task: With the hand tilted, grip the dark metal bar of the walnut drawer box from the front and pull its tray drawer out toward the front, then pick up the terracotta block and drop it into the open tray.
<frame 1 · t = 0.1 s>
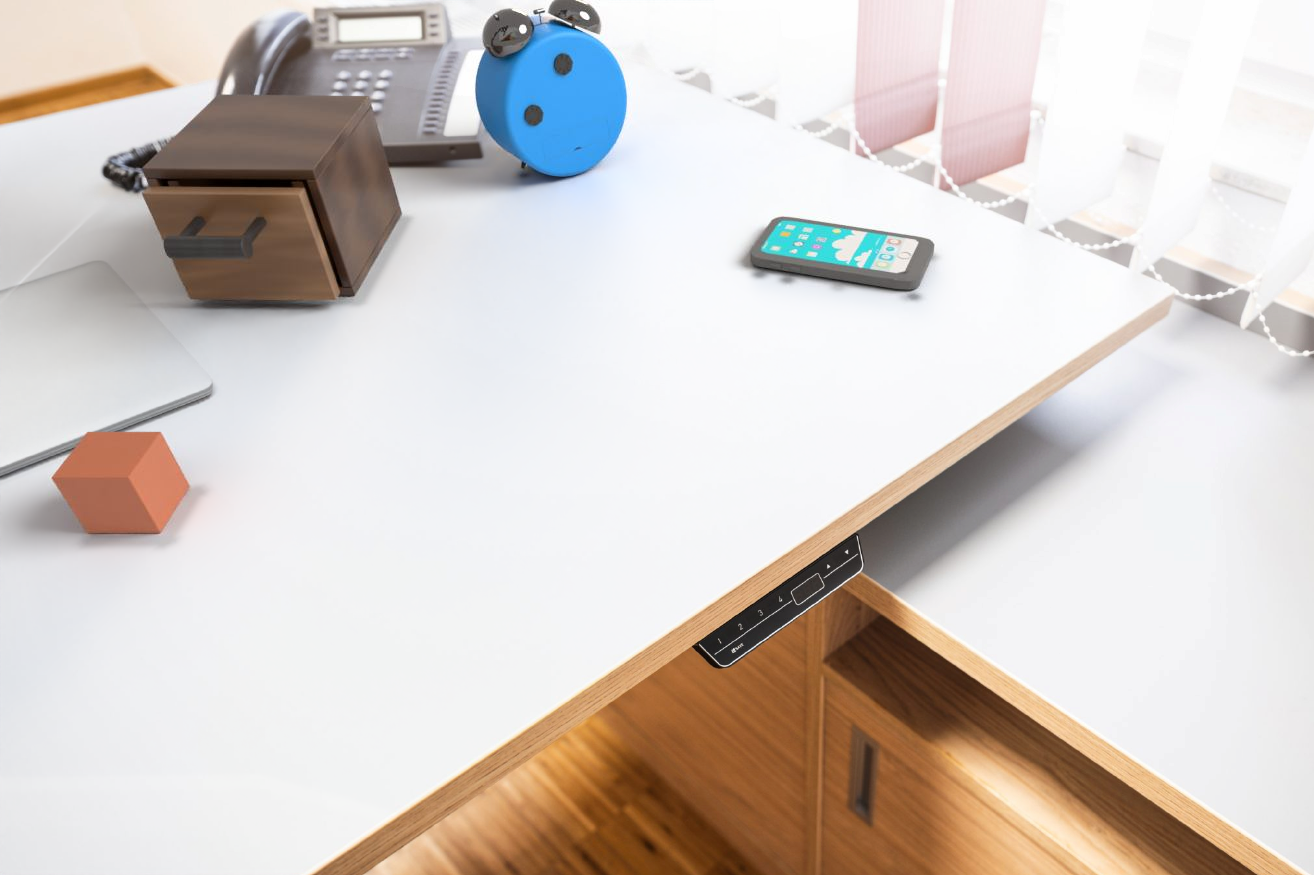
alarm clock: (564, 169, 104), on the table
block: (139, 509, 66), on the table
drawer: (262, 223, 83), point 5 cm above the table, slide at 1.0 cm
cabinet: (306, 252, 90), on the table
smartphone: (842, 258, 92), on the table
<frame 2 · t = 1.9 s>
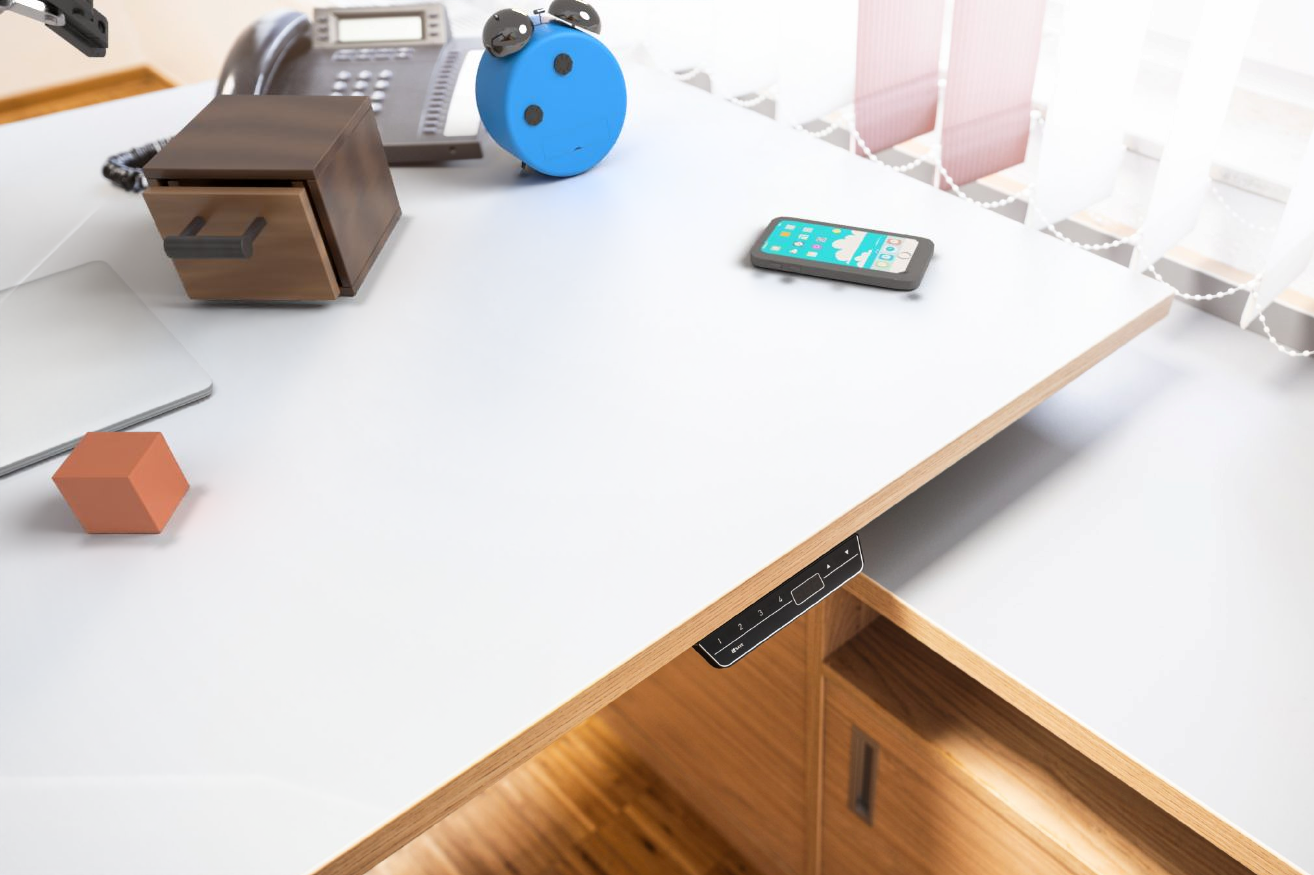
hand: (18, 40, 57), 25 cm above the table, tool tilted 45°, fingers open, 8 cm apart
nothing on the table moved.
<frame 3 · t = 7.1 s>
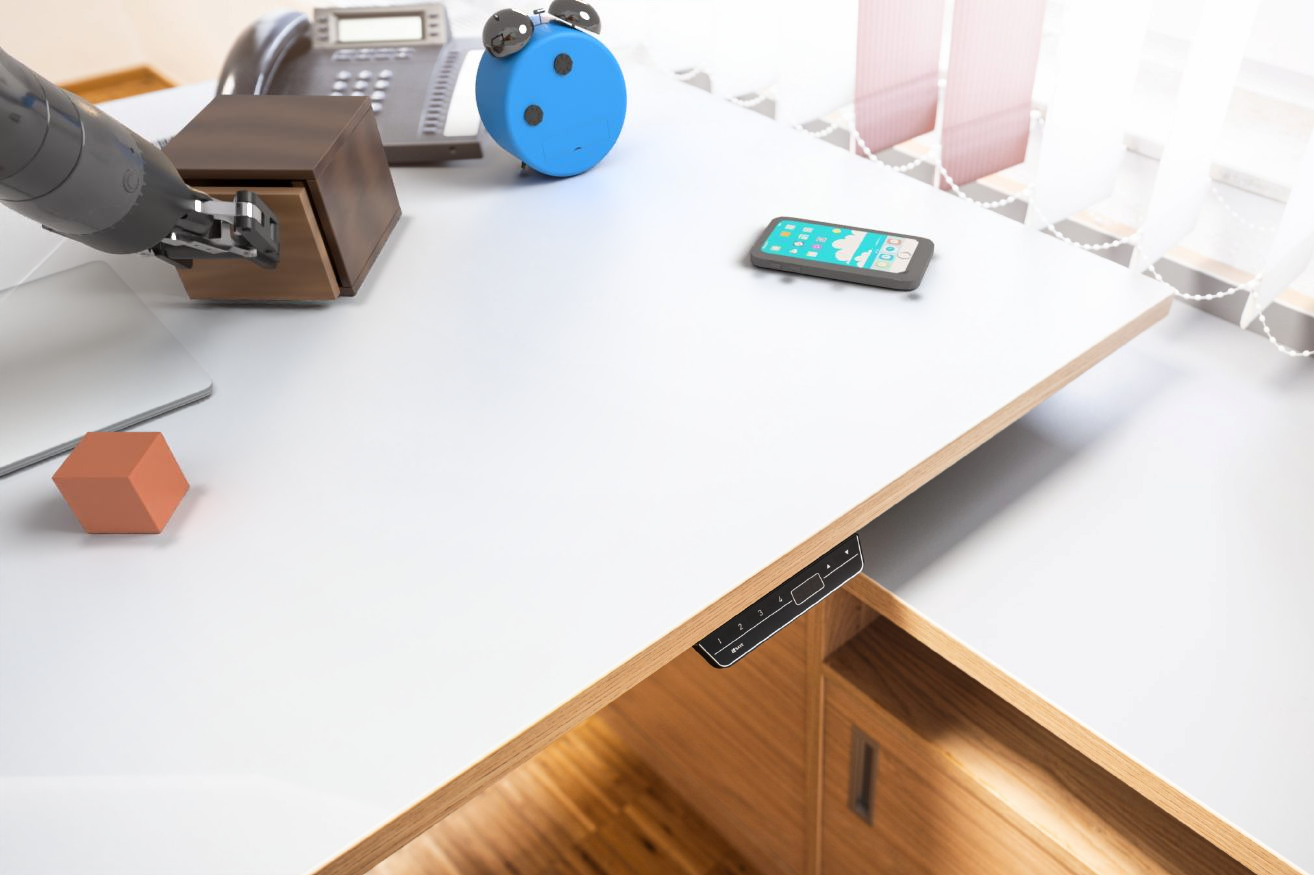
hand: (229, 255, 78), 6 cm above the table, tool tilted 45°, fingers closed on drawer, 5 cm apart
drawer: (262, 223, 83), point 5 cm above the table, slide at 1.0 cm, touching gripper
everything else where it was.
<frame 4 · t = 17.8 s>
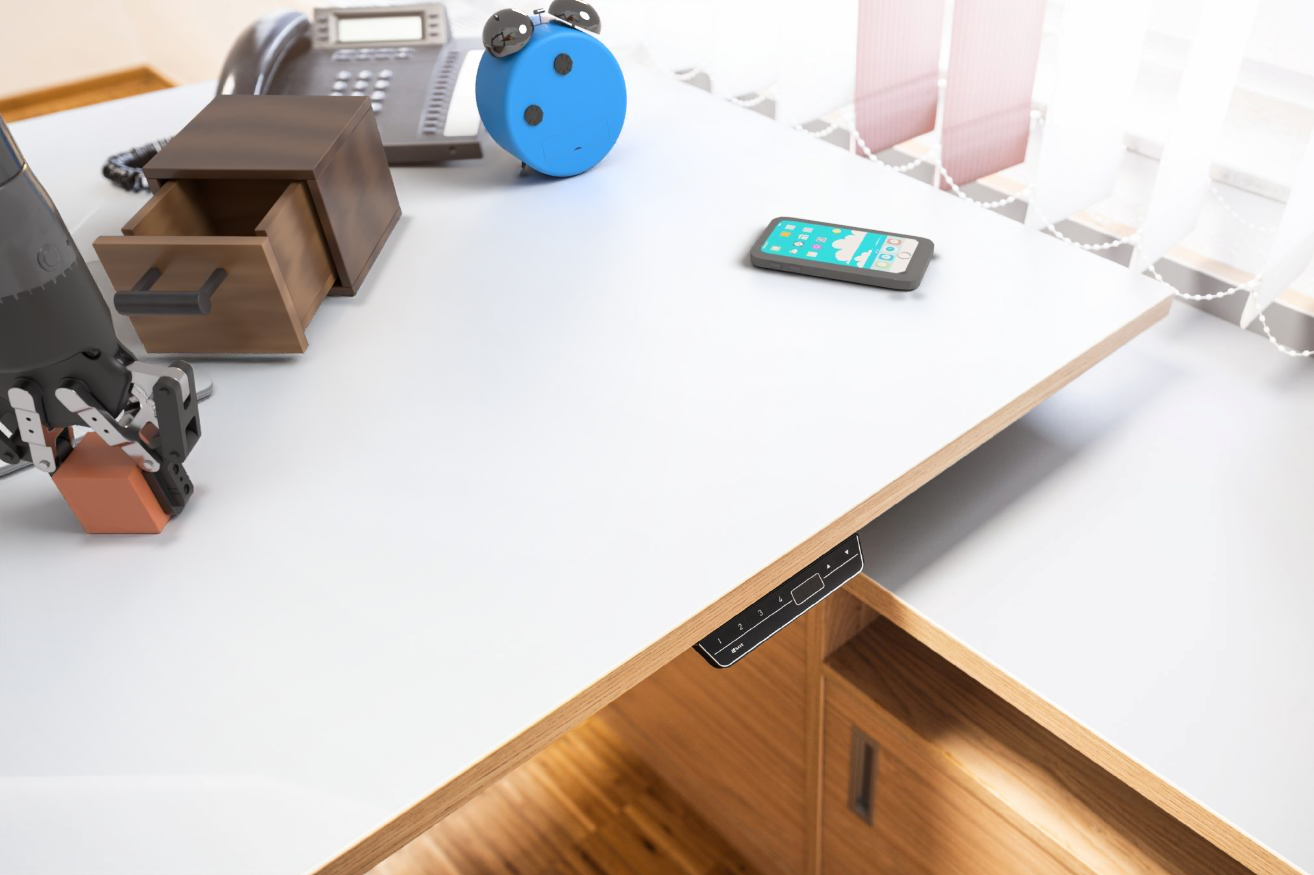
hand: (137, 505, 66), 0 cm above the table, tool pointing down, fingers closed on block, 4 cm apart
block: (139, 509, 66), on the table, touching gripper
drawer: (225, 271, 77), point 5 cm above the table, slide at 8.7 cm
everything else where it was.
when the fingers open (9 cm above the table, at t = 24.2 s): block drops 7 cm, resting on drawer.
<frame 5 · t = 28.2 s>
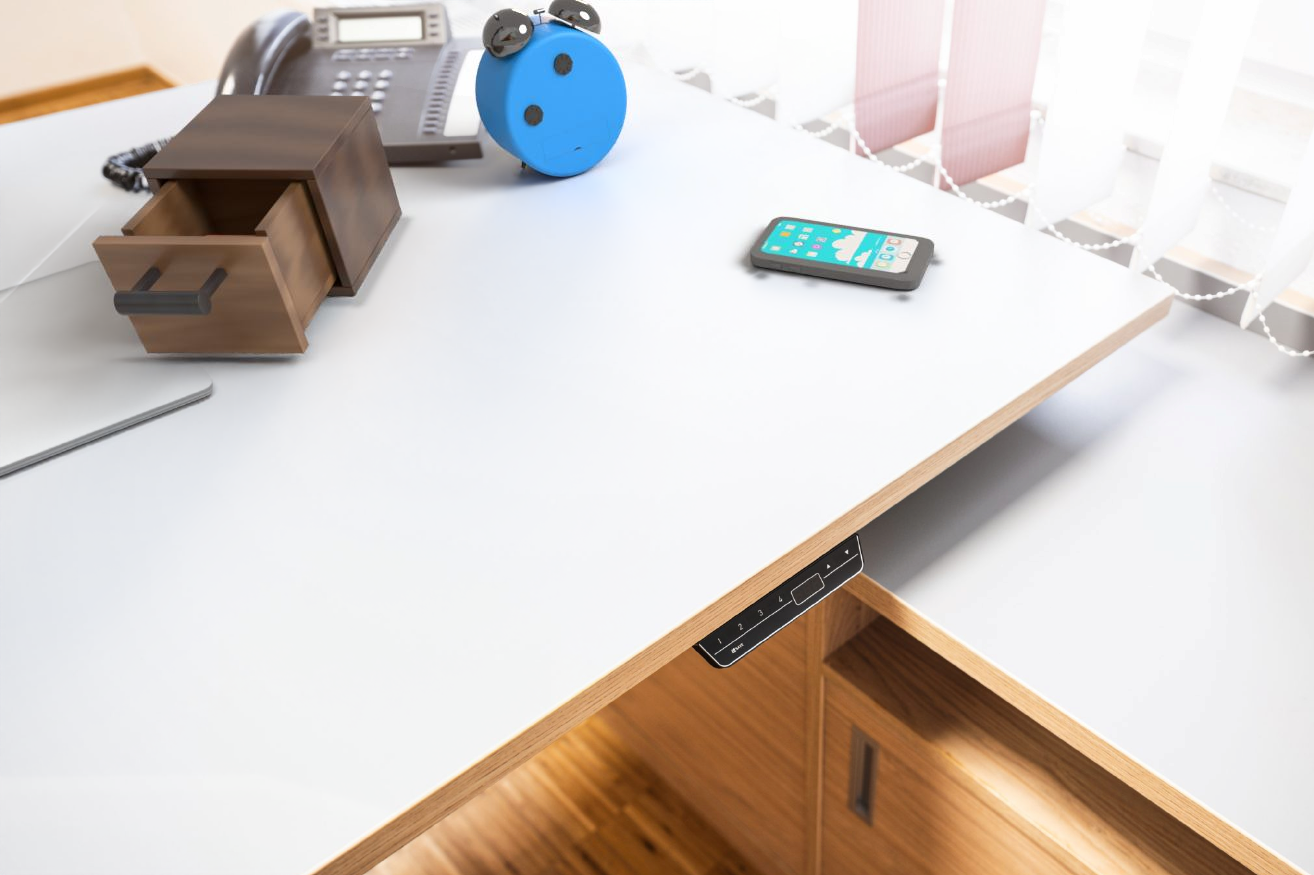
block: (247, 303, 80), point 2 cm above the table, touching drawer
drawer: (225, 271, 77), point 5 cm above the table, slide at 8.7 cm, touching block
everything else where it was.
at the end: drawer slide at 8.7 cm; block inside the target area in the cabinet (6.8 cm from its centre), point 2.0 cm above the cabinet's base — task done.
